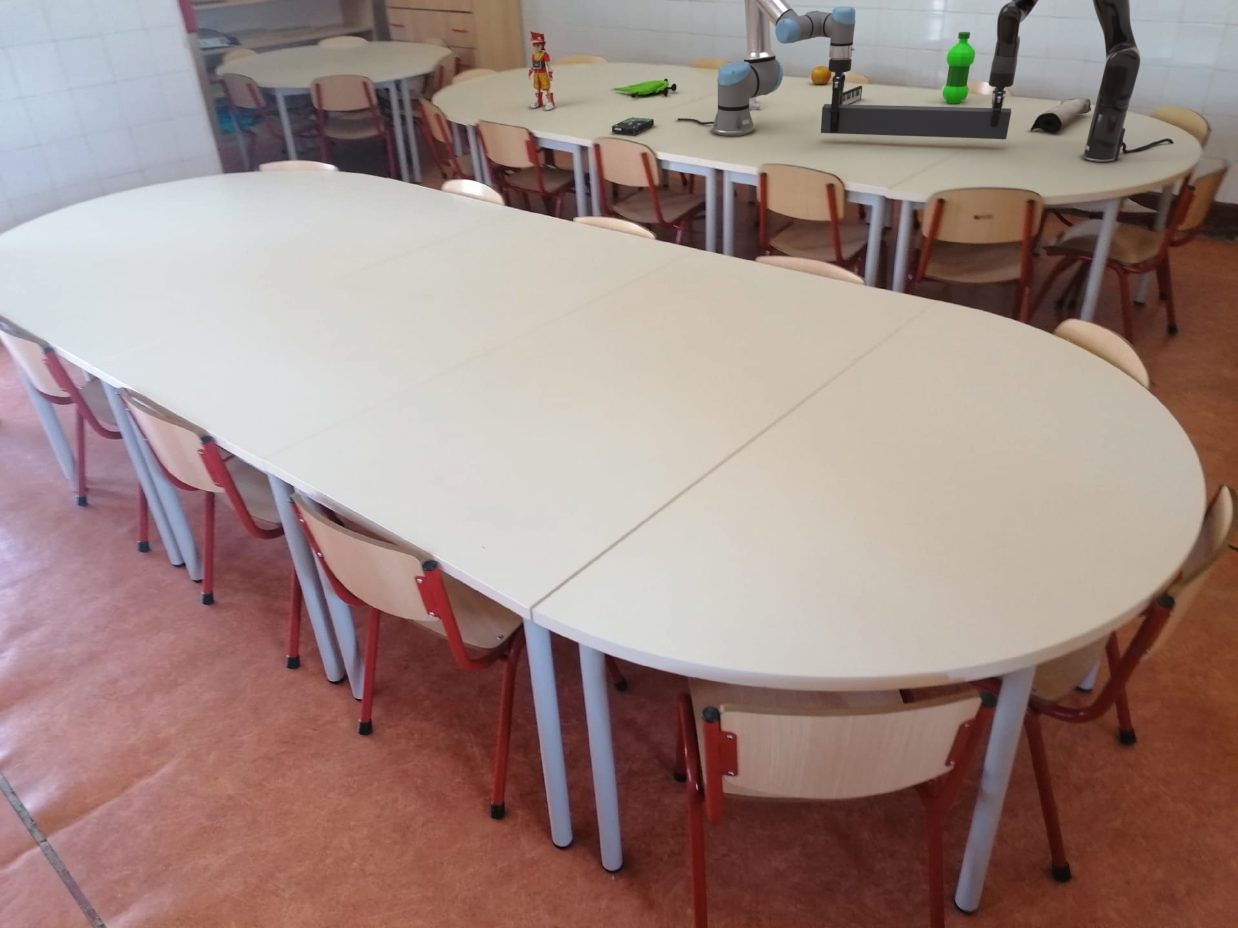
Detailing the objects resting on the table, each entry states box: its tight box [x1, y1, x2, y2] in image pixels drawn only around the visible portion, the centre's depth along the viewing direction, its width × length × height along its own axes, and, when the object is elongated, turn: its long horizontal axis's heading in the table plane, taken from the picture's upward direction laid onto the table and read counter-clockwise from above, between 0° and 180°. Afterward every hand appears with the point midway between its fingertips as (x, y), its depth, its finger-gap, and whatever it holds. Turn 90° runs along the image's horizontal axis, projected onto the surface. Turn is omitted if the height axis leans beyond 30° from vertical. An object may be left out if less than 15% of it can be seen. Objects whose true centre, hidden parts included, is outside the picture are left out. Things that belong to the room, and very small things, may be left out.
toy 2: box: [612, 78, 677, 99], centre depth 396 cm, size 28×5×30 cm
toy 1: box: [527, 31, 556, 111], centre depth 374 cm, size 12×9×30 cm
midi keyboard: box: [842, 85, 863, 105], centre depth 360 cm, size 18×1×5 cm, turn 138°
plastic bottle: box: [942, 31, 976, 104], centre depth 348 cm, size 10×10×25 cm
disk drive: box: [611, 116, 655, 136], centre depth 345 cm, size 10×3×15 cm
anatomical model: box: [749, 97, 762, 110], centre depth 364 cm, size 15×10×10 cm
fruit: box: [810, 65, 832, 85], centre depth 390 cm, size 8×8×8 cm
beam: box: [820, 103, 1012, 140], centre depth 306 cm, size 61×5×9 cm, turn 71°
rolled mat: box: [1030, 97, 1092, 134], centre depth 321 cm, size 30×9×10 cm
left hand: (834, 129), depth 315 cm, fingers closed on beam, 5 cm apart
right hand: (993, 124), depth 298 cm, fingers closed on beam, 5 cm apart
